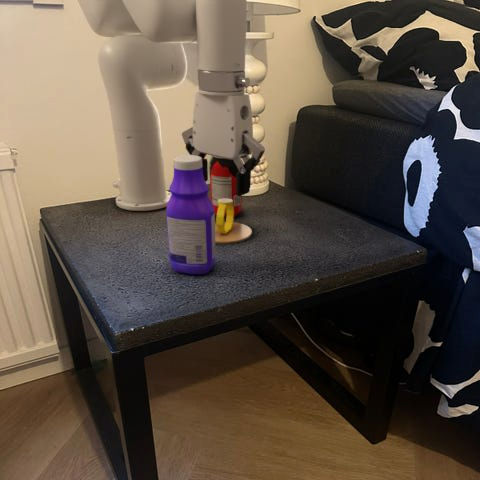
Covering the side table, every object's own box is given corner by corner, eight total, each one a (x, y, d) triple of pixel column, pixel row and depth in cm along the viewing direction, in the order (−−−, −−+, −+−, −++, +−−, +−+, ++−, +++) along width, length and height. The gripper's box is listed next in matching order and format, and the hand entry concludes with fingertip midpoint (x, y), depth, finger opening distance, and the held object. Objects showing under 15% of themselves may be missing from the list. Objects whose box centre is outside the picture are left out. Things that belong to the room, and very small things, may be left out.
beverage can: (248, 213, 98) (248, 153, 92) (227, 221, 94) (226, 159, 88) (225, 206, 102) (224, 148, 95) (205, 214, 98) (202, 154, 91)
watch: (227, 238, 86) (226, 206, 83) (213, 236, 87) (211, 204, 83) (237, 226, 91) (237, 196, 88) (224, 225, 91) (223, 194, 88)
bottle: (219, 263, 78) (216, 154, 69) (210, 278, 73) (205, 163, 64) (177, 259, 79) (169, 151, 70) (165, 274, 75) (155, 160, 65)
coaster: (187, 235, 88) (187, 233, 88) (221, 220, 95) (221, 218, 95) (229, 248, 83) (229, 246, 83) (262, 231, 90) (262, 229, 90)
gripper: (279, 86, 74) (272, 193, 83) (196, 75, 82) (199, 174, 92) (251, 91, 69) (247, 204, 78) (165, 79, 77) (171, 183, 87)
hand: (221, 188), depth 85 cm, fingers open, 9 cm apart
